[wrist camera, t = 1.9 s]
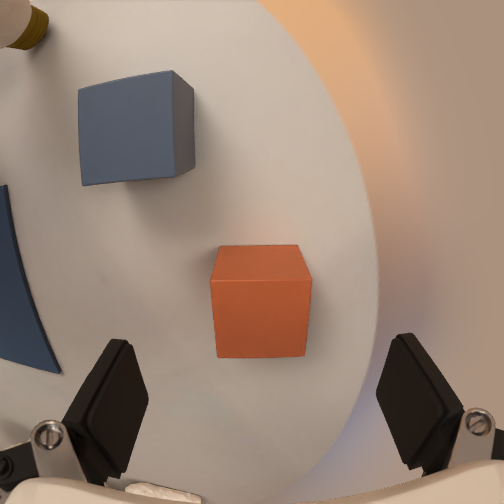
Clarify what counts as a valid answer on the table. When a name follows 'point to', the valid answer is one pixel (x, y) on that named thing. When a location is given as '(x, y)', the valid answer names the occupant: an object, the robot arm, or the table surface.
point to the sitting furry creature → (162, 492)
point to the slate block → (136, 129)
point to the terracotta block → (260, 301)
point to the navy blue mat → (18, 304)
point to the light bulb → (21, 24)
